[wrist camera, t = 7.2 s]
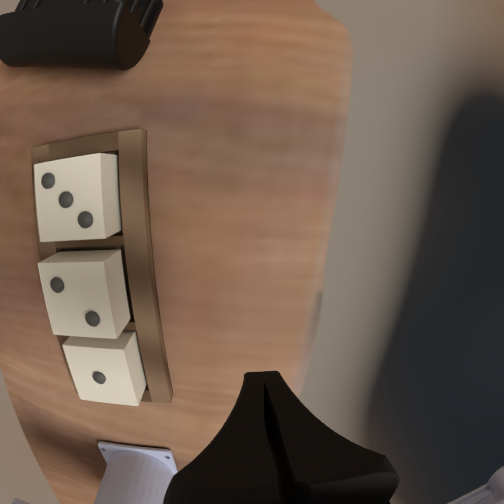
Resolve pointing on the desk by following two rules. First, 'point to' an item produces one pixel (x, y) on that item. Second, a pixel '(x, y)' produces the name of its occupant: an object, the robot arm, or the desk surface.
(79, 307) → the tile two
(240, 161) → the desk surface
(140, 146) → the tile tray
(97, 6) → the end cap
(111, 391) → the tile one
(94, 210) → the tile three
